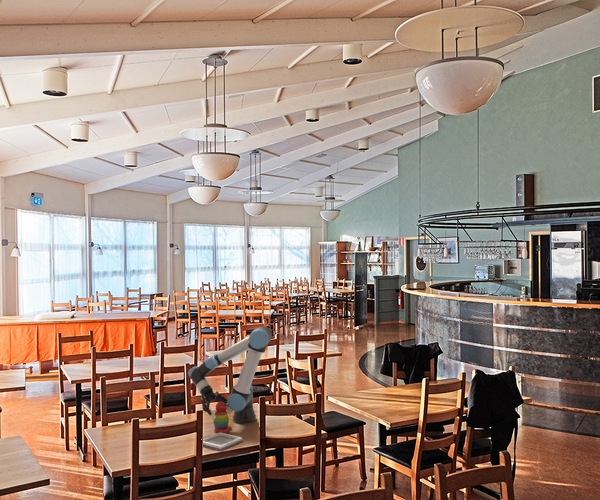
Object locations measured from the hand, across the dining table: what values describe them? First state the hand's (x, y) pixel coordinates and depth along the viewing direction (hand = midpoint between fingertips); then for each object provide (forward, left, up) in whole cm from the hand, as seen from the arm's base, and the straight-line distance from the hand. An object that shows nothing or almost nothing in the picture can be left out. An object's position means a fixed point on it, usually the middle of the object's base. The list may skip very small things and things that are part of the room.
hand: (222, 415), depth 360 cm
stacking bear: (0, -1, -10) cm, 10 cm away
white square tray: (+17, +14, -9) cm, 24 cm away
